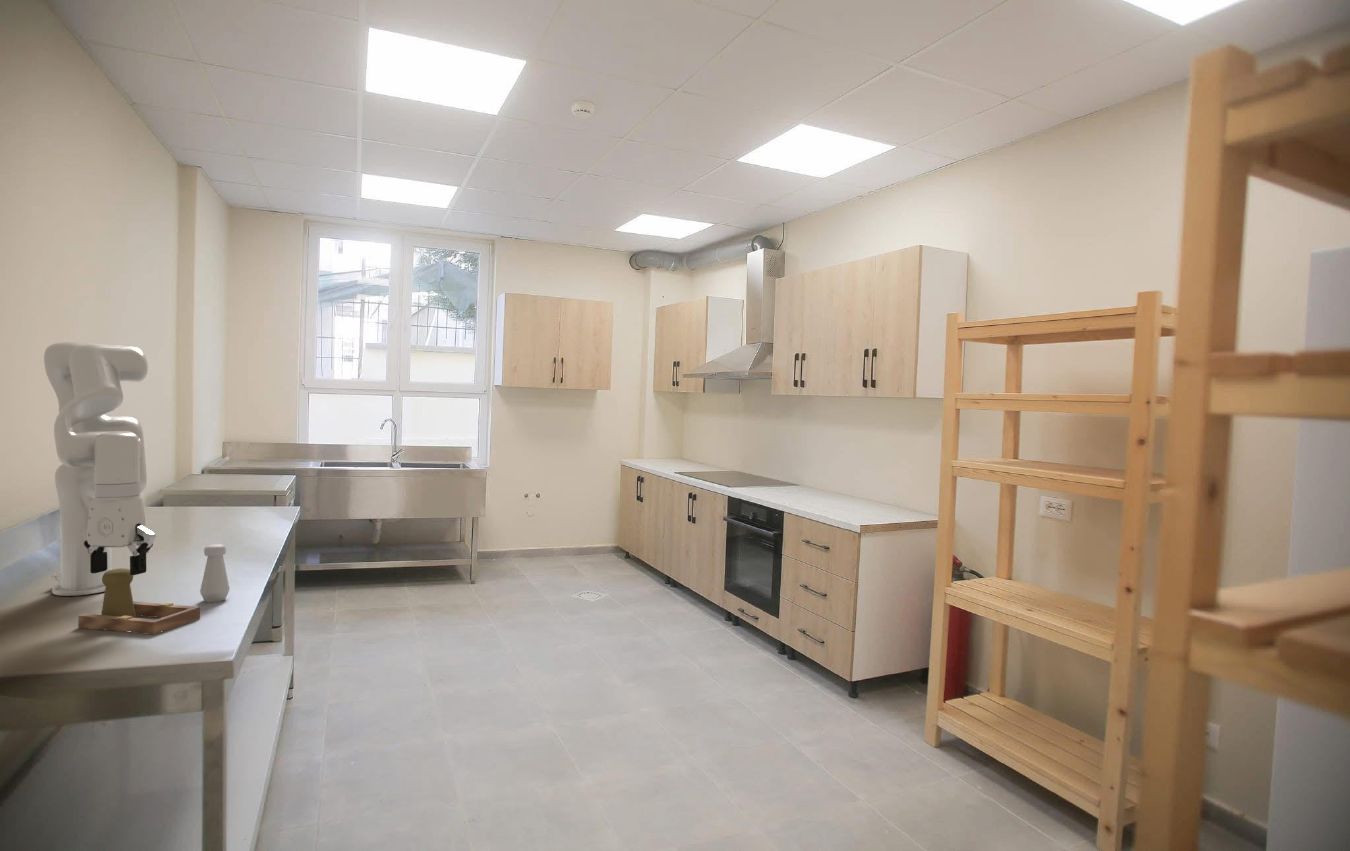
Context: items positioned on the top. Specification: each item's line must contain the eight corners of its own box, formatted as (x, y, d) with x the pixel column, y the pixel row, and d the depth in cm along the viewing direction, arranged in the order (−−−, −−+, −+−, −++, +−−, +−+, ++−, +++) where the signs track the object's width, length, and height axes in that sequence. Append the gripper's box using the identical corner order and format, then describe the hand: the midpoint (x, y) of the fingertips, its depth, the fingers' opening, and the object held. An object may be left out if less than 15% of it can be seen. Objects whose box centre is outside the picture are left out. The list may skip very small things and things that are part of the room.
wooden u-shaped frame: (78, 627, 146) (78, 614, 146) (128, 612, 157) (128, 599, 157) (154, 634, 143) (154, 620, 143) (200, 618, 154) (200, 605, 154)
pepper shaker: (112, 616, 153) (112, 566, 153) (142, 616, 154) (142, 566, 154) (92, 625, 147) (92, 572, 147) (123, 625, 148) (123, 572, 148)
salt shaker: (214, 604, 164) (214, 548, 163) (193, 602, 165) (193, 546, 165) (235, 597, 170) (235, 543, 169) (214, 595, 171) (214, 541, 170)
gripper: (65, 492, 147) (66, 575, 148) (136, 494, 144) (137, 578, 145) (100, 489, 155) (101, 567, 155) (168, 490, 152) (169, 570, 152)
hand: (118, 572), depth 150 cm, fingers open, 9 cm apart
